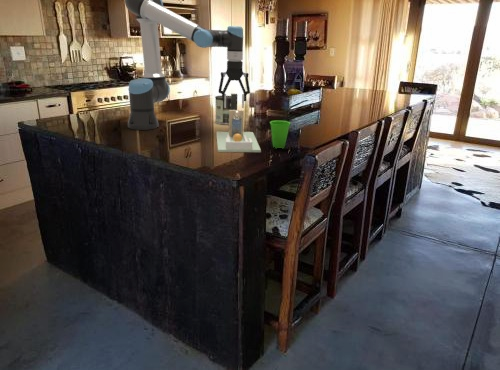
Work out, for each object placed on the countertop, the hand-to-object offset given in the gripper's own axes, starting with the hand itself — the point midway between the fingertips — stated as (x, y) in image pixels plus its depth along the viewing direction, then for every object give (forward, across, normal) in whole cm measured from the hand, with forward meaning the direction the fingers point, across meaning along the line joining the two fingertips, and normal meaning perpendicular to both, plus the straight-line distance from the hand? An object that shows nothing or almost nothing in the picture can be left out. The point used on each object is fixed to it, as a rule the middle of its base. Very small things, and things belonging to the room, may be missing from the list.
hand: (234, 107), depth 199 cm
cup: (+12, +18, -33) cm, 39 cm away
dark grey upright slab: (+9, 0, -11) cm, 14 cm away
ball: (+8, 0, -29) cm, 30 cm away
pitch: (+11, 0, -25) cm, 27 cm away
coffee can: (+12, -4, +17) cm, 21 cm away
